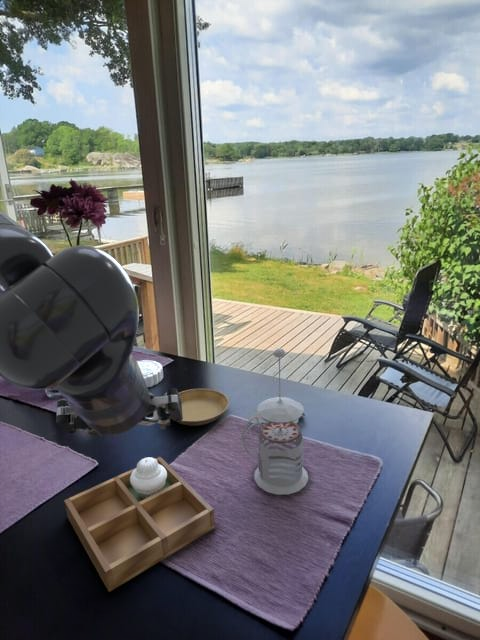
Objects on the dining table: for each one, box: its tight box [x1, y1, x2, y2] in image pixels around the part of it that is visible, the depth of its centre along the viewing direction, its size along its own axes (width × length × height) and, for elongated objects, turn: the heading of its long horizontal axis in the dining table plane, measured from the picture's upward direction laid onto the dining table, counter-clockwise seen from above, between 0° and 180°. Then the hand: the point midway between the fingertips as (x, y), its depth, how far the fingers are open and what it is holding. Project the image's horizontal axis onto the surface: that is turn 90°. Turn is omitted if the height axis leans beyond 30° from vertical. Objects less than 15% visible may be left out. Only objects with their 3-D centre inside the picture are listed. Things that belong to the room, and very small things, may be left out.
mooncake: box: [136, 359, 164, 388], centre depth 119 cm, size 12×12×4 cm
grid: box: [63, 456, 216, 593], centre depth 70 cm, size 17×17×4 cm
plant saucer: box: [176, 388, 230, 427], centre depth 101 cm, size 15×15×3 cm
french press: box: [241, 347, 309, 496], centre depth 76 cm, size 10×12×25 cm
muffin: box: [130, 456, 167, 499], centre depth 75 cm, size 6×6×7 cm
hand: (130, 425), depth 60 cm, fingers open, 8 cm apart
